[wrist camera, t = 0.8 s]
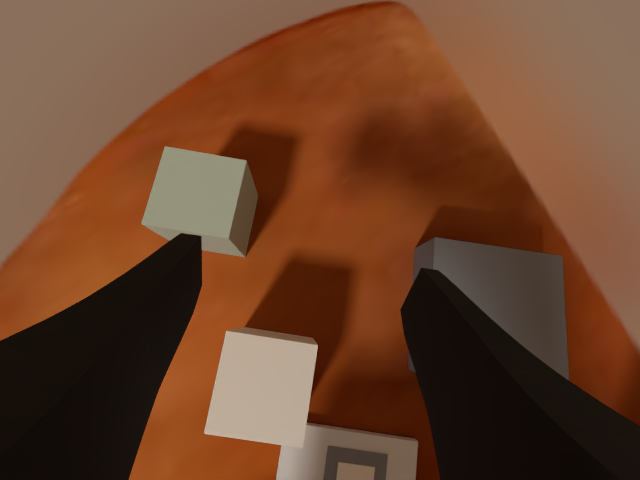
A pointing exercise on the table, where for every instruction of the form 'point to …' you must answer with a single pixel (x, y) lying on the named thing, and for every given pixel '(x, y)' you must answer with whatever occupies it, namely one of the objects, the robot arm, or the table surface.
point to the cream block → (263, 387)
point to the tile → (348, 456)
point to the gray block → (507, 291)
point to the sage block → (203, 200)
